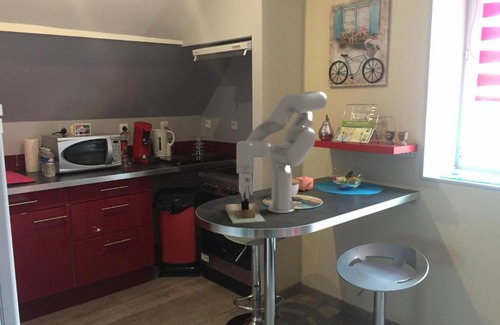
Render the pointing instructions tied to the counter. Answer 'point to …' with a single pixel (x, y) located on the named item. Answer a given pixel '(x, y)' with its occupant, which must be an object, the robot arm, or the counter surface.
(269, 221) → the counter surface
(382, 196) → the counter surface
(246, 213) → the walnut block
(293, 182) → the lidded bowl
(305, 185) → the pink cube teapot
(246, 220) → the sage mat
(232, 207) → the birch board
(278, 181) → the robot arm
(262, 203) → the counter surface
